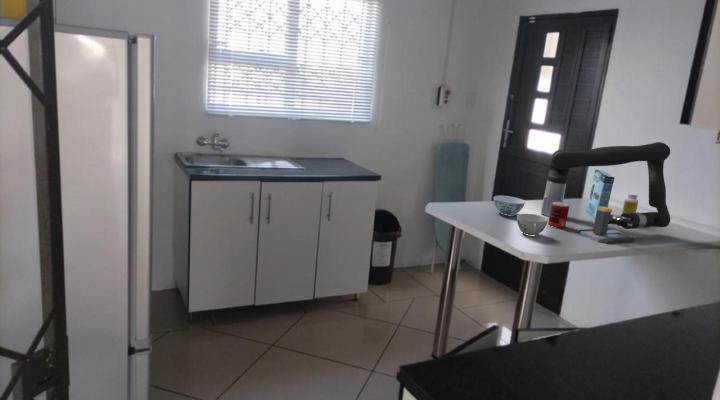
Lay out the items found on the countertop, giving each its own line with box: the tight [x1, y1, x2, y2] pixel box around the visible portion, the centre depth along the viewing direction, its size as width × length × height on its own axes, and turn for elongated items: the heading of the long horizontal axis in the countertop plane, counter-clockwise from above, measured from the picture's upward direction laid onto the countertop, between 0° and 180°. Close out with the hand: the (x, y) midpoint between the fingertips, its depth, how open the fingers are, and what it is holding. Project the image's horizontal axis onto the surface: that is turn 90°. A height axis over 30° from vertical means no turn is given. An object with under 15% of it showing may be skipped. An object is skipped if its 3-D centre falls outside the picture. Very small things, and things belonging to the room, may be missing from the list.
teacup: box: [516, 213, 549, 236], centre depth 222 cm, size 15×12×8 cm
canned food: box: [547, 201, 570, 229], centre depth 242 cm, size 8×8×11 cm
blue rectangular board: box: [579, 229, 634, 243], centre depth 232 cm, size 22×10×2 cm, turn 114°
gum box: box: [585, 169, 615, 220], centre depth 270 cm, size 20×5×23 cm, turn 170°
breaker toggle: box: [592, 207, 613, 235], centre depth 229 cm, size 4×4×12 cm
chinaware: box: [493, 195, 526, 216], centre depth 255 cm, size 15×15×8 cm
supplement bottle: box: [620, 192, 639, 216], centre depth 275 cm, size 7×7×13 cm
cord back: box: [578, 228, 610, 234], centre depth 239 cm, size 18×1×1 cm, turn 114°
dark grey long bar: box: [603, 237, 637, 245], centre depth 226 cm, size 18×1×1 cm, turn 114°
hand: (606, 221), depth 230 cm, fingers closed
